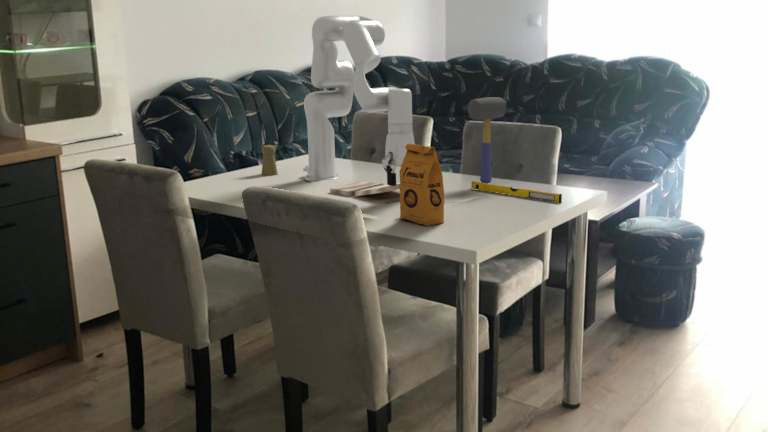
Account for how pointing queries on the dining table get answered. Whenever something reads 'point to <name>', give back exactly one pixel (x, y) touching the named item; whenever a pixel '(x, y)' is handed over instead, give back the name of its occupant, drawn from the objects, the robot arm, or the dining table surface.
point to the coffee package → (421, 186)
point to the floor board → (378, 197)
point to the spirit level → (518, 191)
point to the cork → (269, 161)
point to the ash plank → (378, 189)
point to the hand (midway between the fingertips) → (401, 183)
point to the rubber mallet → (486, 128)
